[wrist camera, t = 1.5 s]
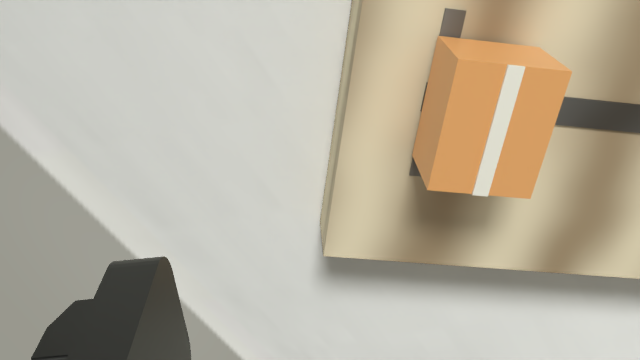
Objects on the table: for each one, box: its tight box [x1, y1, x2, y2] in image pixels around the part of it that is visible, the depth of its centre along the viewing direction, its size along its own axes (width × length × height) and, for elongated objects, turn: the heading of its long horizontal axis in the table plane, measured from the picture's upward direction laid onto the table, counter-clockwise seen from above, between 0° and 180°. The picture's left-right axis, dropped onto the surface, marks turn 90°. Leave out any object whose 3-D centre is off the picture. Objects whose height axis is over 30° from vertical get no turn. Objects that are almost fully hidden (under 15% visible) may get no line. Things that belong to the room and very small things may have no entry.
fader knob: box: [412, 36, 572, 199], centre depth 23 cm, size 4×5×3 cm
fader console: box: [320, 0, 640, 279], centre depth 26 cm, size 22×16×3 cm
